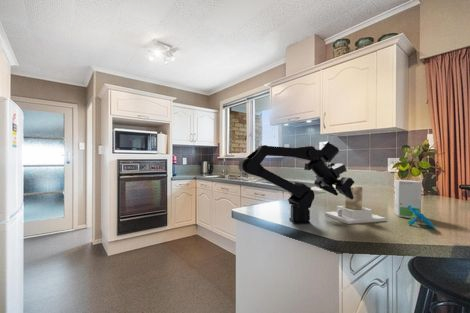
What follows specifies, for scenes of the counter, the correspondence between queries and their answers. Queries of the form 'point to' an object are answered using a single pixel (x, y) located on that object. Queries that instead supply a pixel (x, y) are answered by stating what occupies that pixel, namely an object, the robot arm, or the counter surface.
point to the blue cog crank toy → (418, 217)
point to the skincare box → (407, 197)
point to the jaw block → (354, 199)
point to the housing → (354, 215)
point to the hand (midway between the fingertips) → (344, 196)
